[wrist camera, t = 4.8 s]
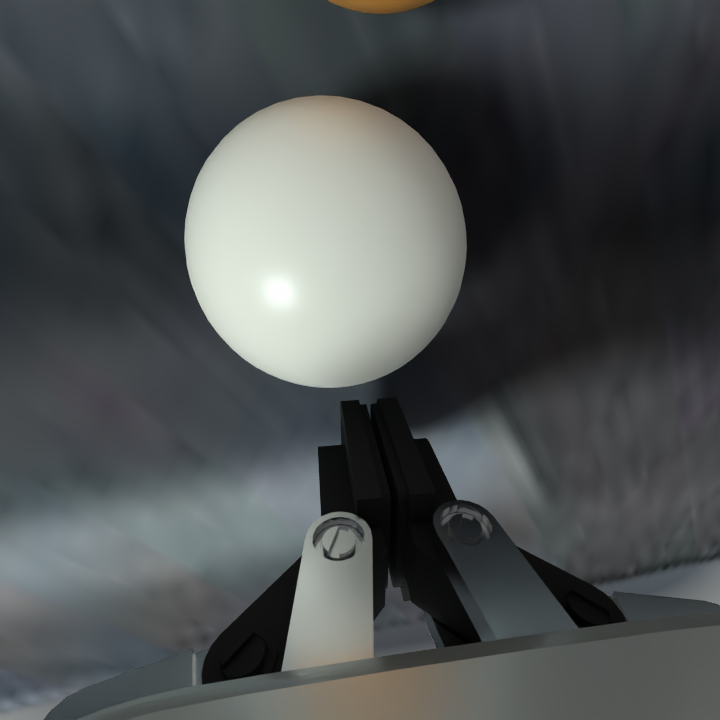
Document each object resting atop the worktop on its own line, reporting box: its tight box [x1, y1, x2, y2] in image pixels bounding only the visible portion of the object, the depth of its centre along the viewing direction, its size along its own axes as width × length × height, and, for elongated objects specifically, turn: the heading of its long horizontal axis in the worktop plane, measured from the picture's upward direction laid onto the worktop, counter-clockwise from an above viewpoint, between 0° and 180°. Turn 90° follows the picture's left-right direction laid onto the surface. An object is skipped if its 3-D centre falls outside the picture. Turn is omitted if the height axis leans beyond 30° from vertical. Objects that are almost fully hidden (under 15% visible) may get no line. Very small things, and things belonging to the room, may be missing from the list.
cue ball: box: [184, 95, 467, 388], centre depth 8 cm, size 6×6×6 cm
